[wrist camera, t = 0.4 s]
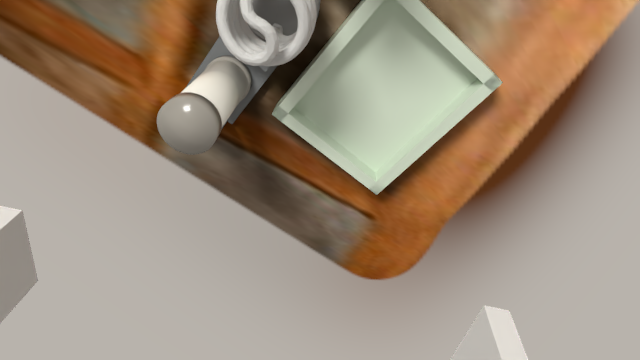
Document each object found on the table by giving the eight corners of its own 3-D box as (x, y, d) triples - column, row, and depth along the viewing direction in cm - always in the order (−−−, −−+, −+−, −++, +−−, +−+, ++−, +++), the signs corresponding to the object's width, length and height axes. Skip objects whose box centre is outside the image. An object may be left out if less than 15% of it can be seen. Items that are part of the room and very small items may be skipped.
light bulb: (327, 31, 34) (311, 77, 24) (258, 31, 34) (214, 77, 24) (326, -49, 31) (307, -35, 21) (251, -47, 31) (196, -33, 21)
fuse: (198, 80, 36) (146, 130, 27) (222, 45, 34) (174, 86, 26) (236, 108, 37) (197, 165, 28) (261, 75, 35) (227, 125, 27)
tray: (277, 103, 37) (271, 114, 35) (387, -32, 31) (389, -29, 29) (376, 180, 41) (376, 195, 39) (494, 72, 34) (502, 82, 32)
